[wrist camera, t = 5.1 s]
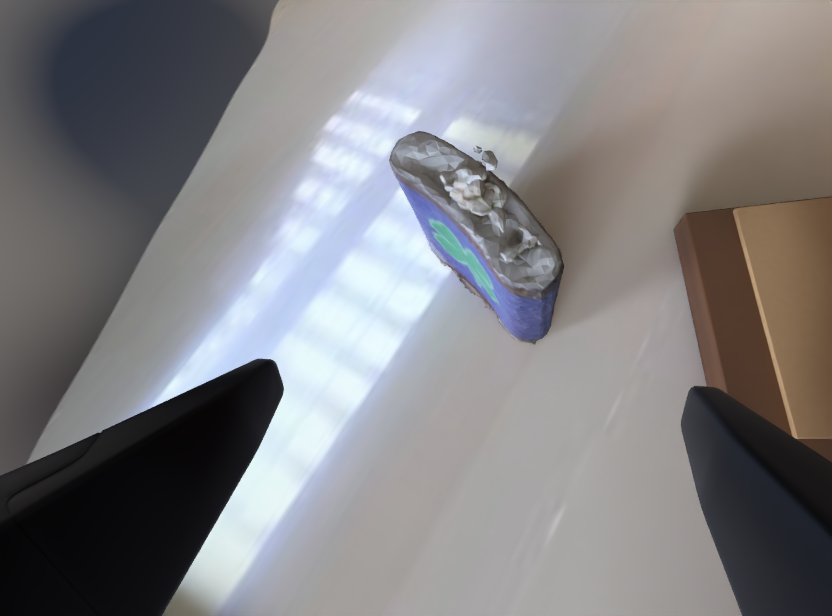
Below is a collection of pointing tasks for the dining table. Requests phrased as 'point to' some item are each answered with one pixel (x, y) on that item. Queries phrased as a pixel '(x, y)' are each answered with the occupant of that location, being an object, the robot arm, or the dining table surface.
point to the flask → (481, 231)
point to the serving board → (766, 309)
